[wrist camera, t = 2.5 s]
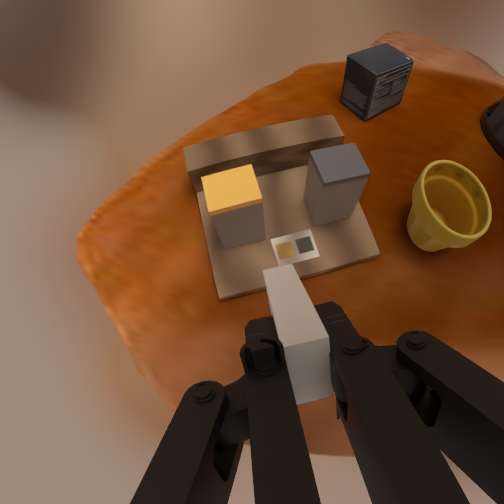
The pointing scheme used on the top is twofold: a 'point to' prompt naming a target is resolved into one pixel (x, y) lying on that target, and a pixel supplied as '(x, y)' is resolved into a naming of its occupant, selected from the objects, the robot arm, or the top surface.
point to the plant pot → (447, 207)
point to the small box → (375, 80)
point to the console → (278, 206)
